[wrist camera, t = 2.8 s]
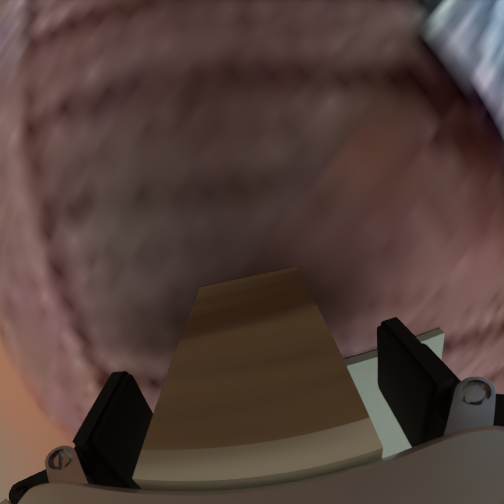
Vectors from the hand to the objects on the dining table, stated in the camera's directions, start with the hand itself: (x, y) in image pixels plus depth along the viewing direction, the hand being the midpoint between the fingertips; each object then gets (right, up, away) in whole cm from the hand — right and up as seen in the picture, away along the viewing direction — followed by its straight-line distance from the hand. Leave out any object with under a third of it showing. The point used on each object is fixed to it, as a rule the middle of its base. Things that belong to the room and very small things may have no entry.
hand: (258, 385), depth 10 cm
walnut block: (0, +2, +4) cm, 4 cm away
